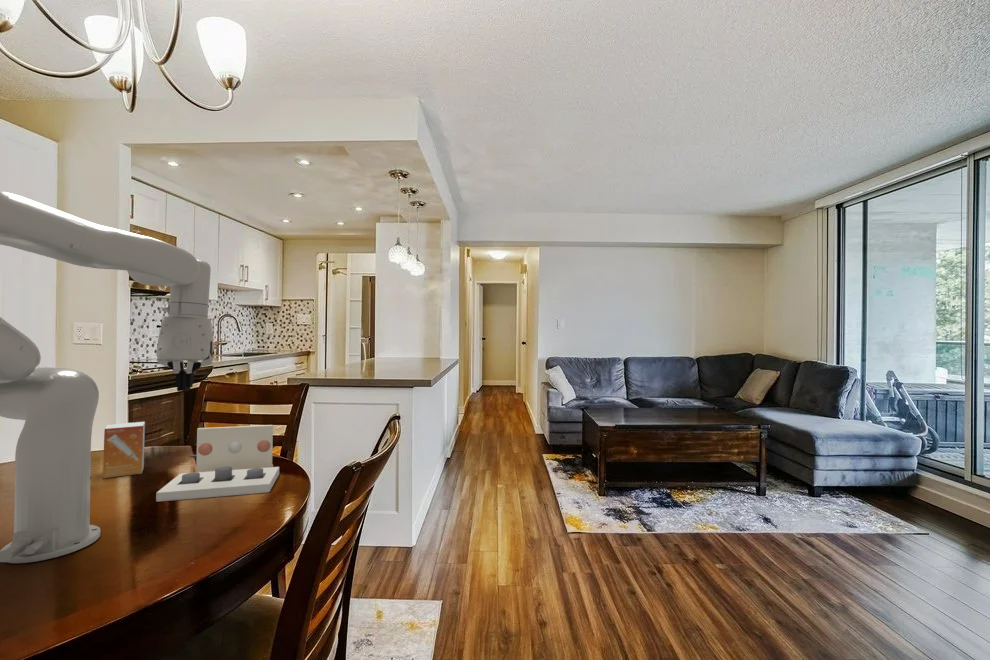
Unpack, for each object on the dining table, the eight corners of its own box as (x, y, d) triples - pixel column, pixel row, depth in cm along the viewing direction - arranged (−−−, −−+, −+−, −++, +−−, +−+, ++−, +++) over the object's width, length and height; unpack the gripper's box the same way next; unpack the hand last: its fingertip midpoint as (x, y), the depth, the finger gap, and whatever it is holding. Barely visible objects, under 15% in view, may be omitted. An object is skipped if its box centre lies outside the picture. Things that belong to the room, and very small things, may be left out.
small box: (102, 479, 113) (103, 428, 113) (105, 472, 118) (106, 424, 118) (142, 473, 118) (143, 425, 118) (144, 467, 123) (145, 421, 123)
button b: (229, 482, 108) (229, 470, 108) (212, 483, 107) (213, 471, 107) (233, 477, 111) (233, 465, 111) (217, 478, 110) (217, 466, 110)
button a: (196, 489, 106) (196, 476, 106) (179, 490, 105) (179, 477, 105) (201, 484, 109) (201, 472, 109) (184, 485, 108) (185, 473, 108)
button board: (269, 492, 106) (269, 483, 106) (156, 501, 99) (156, 492, 99) (279, 474, 119) (279, 466, 119) (180, 481, 112) (180, 473, 112)
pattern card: (270, 472, 120) (271, 426, 120) (194, 478, 115) (195, 430, 115) (273, 468, 124) (273, 423, 124) (199, 473, 119) (200, 426, 119)
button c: (261, 484, 110) (261, 471, 110) (245, 485, 109) (245, 473, 109) (264, 479, 113) (264, 467, 113) (248, 480, 112) (248, 468, 112)
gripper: (143, 308, 98) (137, 392, 97) (219, 312, 102) (214, 392, 101) (159, 311, 105) (153, 389, 104) (229, 314, 109) (225, 389, 108)
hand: (183, 390), depth 102 cm, fingers closed
